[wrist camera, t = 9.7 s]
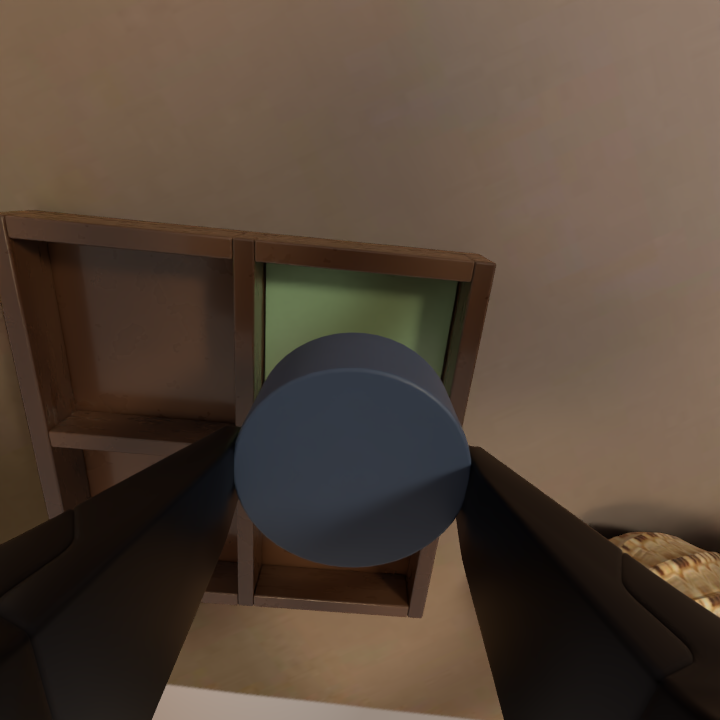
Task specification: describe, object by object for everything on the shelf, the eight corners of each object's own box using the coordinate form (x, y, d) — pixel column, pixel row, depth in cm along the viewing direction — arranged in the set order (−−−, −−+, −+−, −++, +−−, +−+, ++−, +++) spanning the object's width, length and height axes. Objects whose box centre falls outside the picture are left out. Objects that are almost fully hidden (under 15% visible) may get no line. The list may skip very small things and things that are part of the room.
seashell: (702, 459, 19) (538, 535, 16) (899, 550, 14) (728, 696, 10) (664, 583, 22) (518, 674, 18) (818, 697, 17) (660, 854, 13)
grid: (479, 253, 13) (497, 263, 12) (416, 578, 18) (422, 619, 17) (32, 209, 13) (-21, 212, 11) (93, 553, 18) (64, 593, 16)
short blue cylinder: (467, 341, 9) (495, 380, 7) (434, 508, 10) (449, 577, 9) (256, 322, 9) (228, 356, 7) (256, 494, 10) (232, 560, 8)
